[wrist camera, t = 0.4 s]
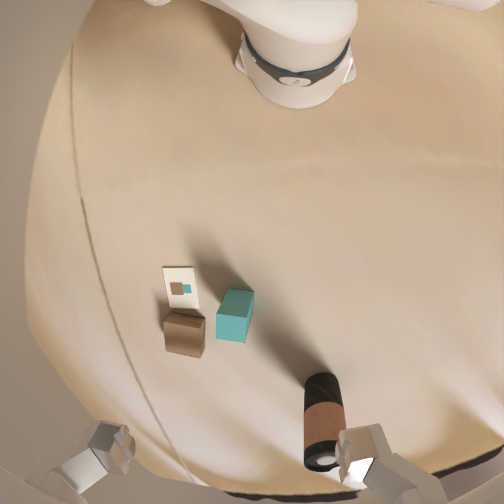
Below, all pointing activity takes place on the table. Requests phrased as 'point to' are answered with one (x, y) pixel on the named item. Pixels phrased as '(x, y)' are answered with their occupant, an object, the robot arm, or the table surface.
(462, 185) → the table surface
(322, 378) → the travel mug
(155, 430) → the table surface
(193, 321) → the walnut brick
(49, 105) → the table surface
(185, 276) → the page
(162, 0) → the white cup
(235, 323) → the teal brick
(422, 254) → the table surface
